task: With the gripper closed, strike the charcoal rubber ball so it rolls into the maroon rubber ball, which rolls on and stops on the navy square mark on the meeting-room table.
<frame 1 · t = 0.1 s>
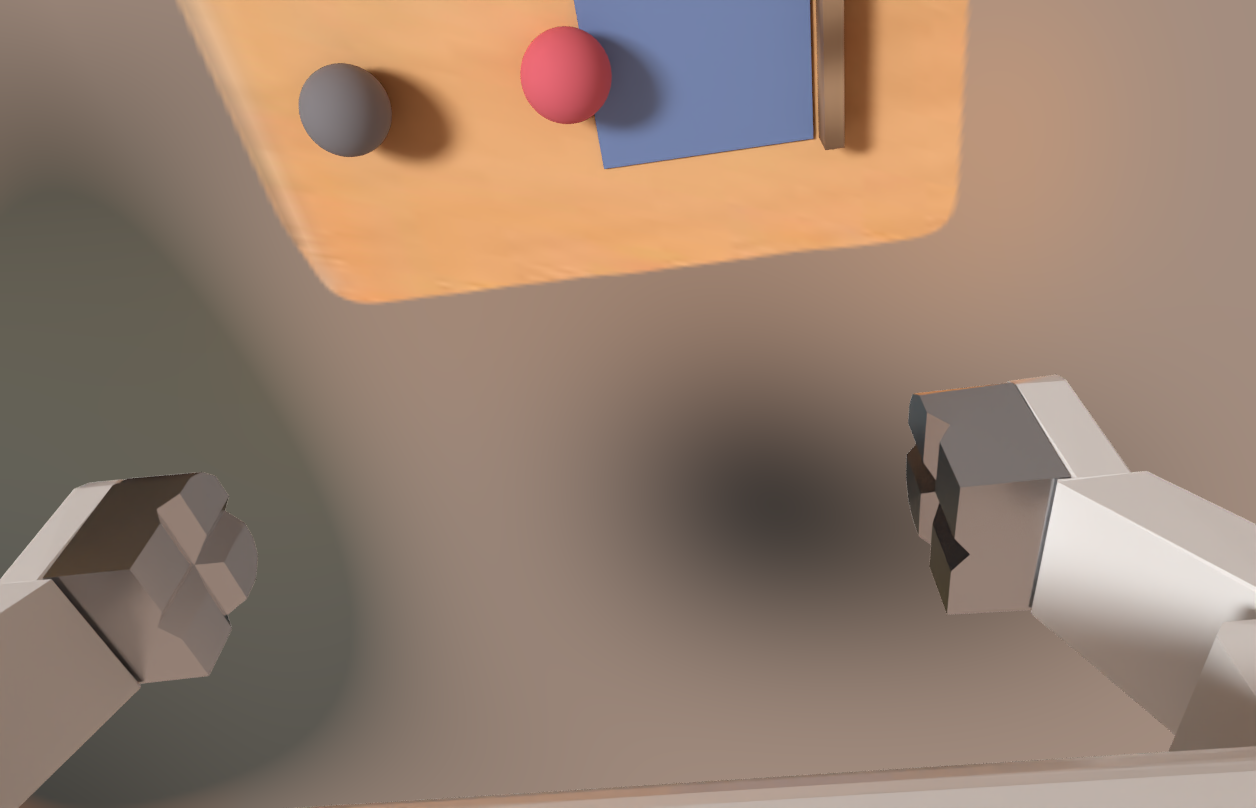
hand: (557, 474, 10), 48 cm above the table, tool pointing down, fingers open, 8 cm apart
stopper wall: (826, 22, 51), on the table
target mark: (695, 43, 52), on the table
cue ball: (346, 110, 52), on the table
object ball: (566, 76, 51), on the table
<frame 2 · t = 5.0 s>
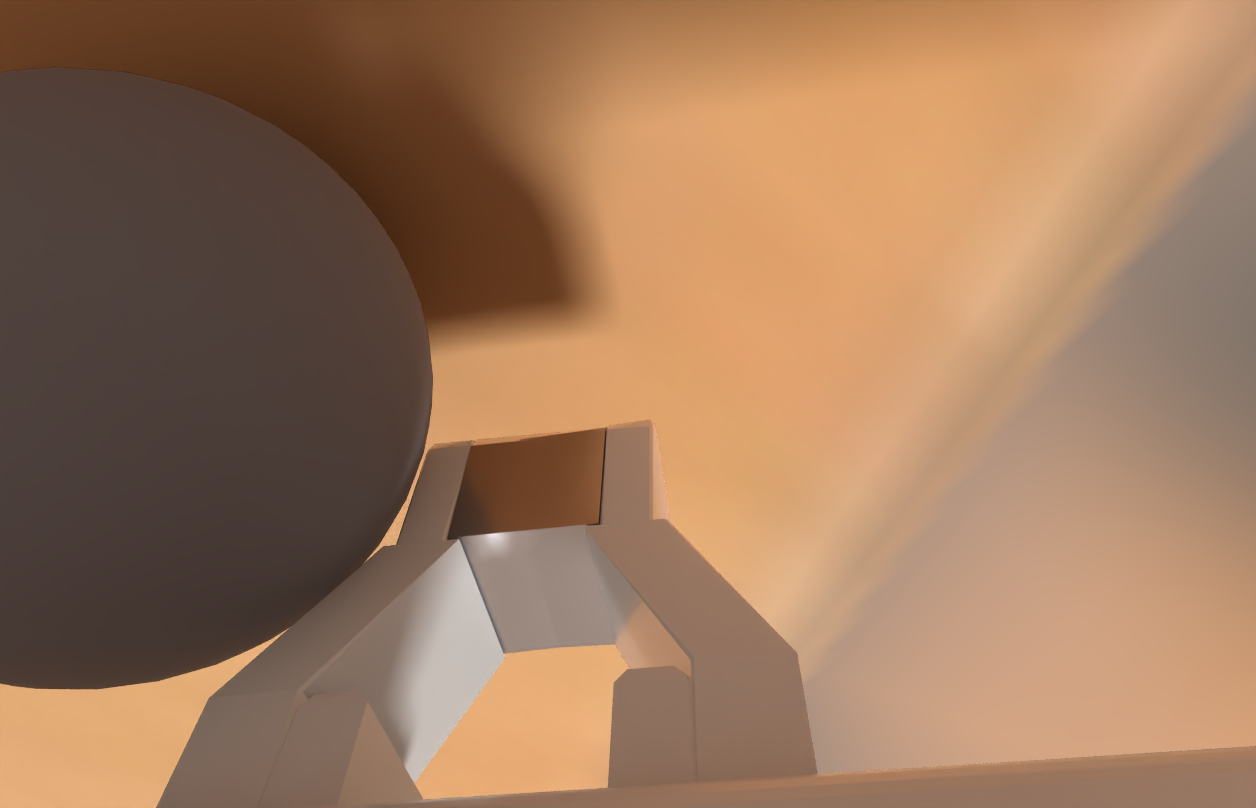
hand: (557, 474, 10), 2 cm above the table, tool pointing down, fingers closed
cue ball: (133, 381, 8), on the table, touching gripper
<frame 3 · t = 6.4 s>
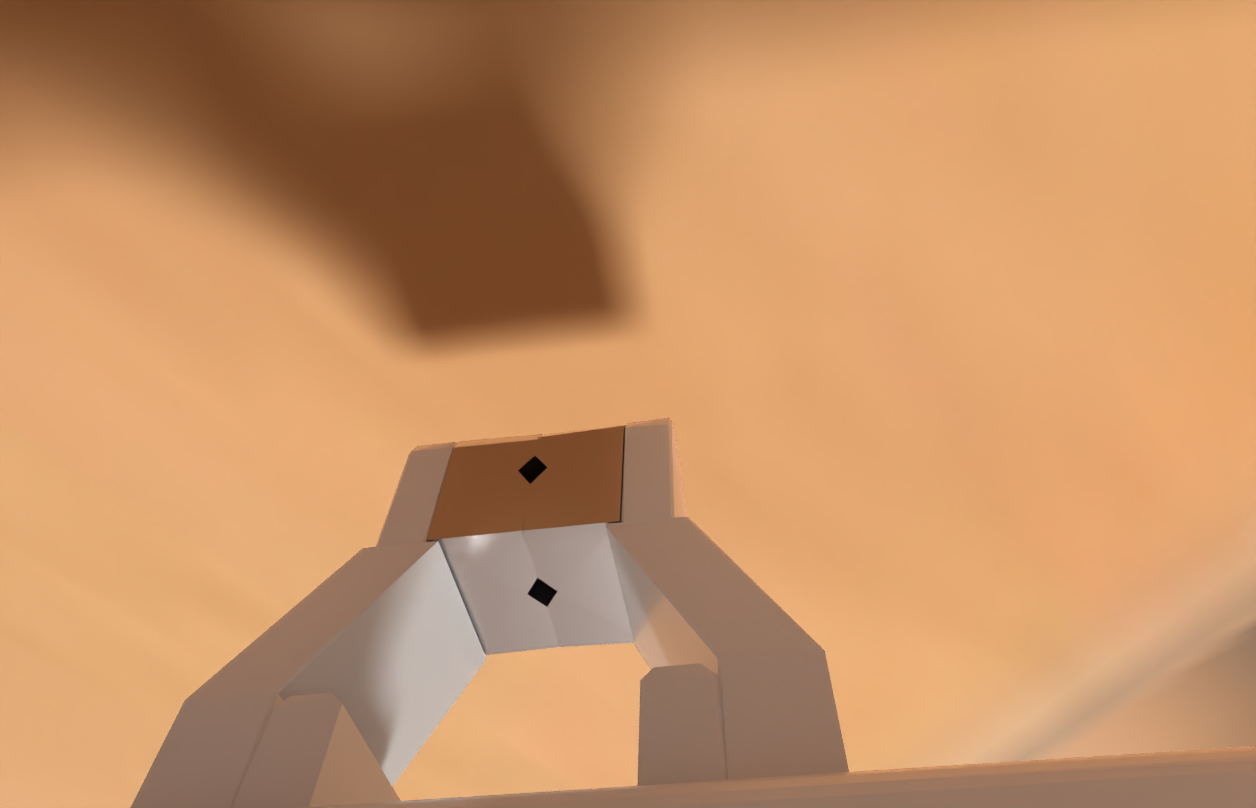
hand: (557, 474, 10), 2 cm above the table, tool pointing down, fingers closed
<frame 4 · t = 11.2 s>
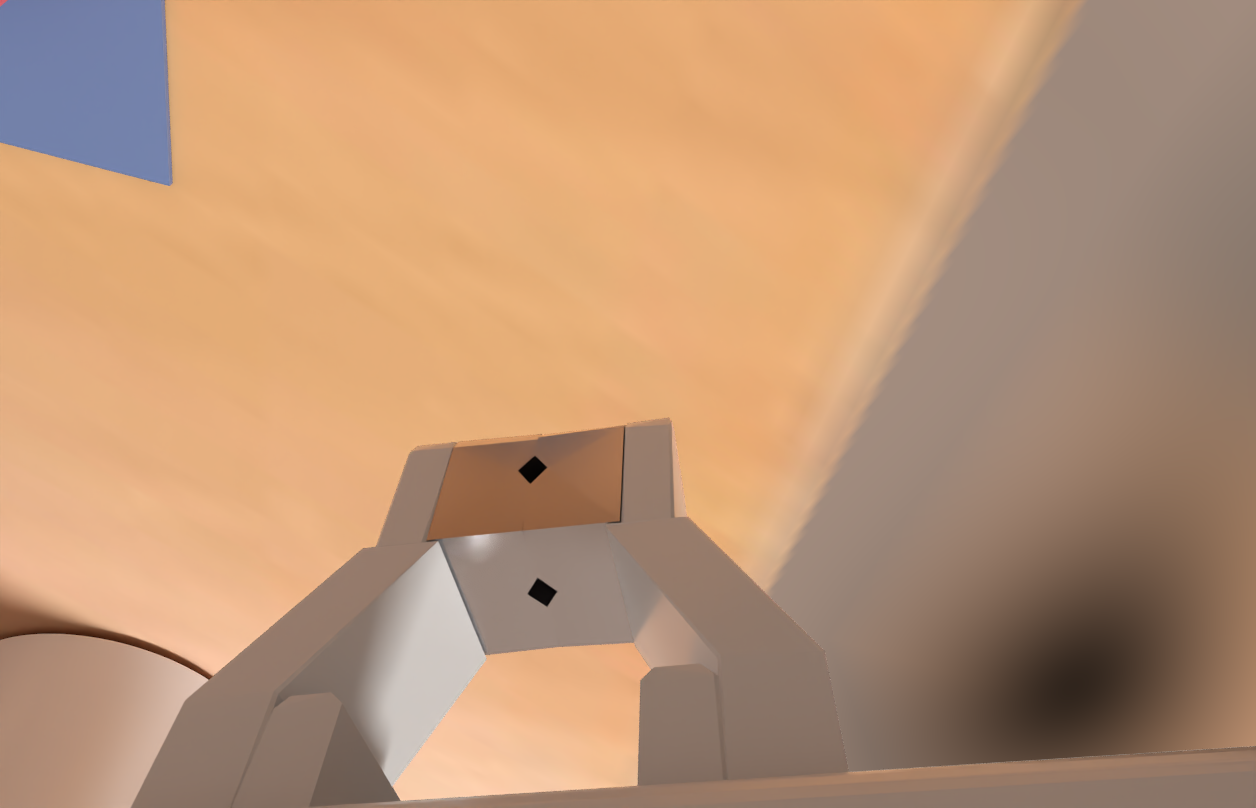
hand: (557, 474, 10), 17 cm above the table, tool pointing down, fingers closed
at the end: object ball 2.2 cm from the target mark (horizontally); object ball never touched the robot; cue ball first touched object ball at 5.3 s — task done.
